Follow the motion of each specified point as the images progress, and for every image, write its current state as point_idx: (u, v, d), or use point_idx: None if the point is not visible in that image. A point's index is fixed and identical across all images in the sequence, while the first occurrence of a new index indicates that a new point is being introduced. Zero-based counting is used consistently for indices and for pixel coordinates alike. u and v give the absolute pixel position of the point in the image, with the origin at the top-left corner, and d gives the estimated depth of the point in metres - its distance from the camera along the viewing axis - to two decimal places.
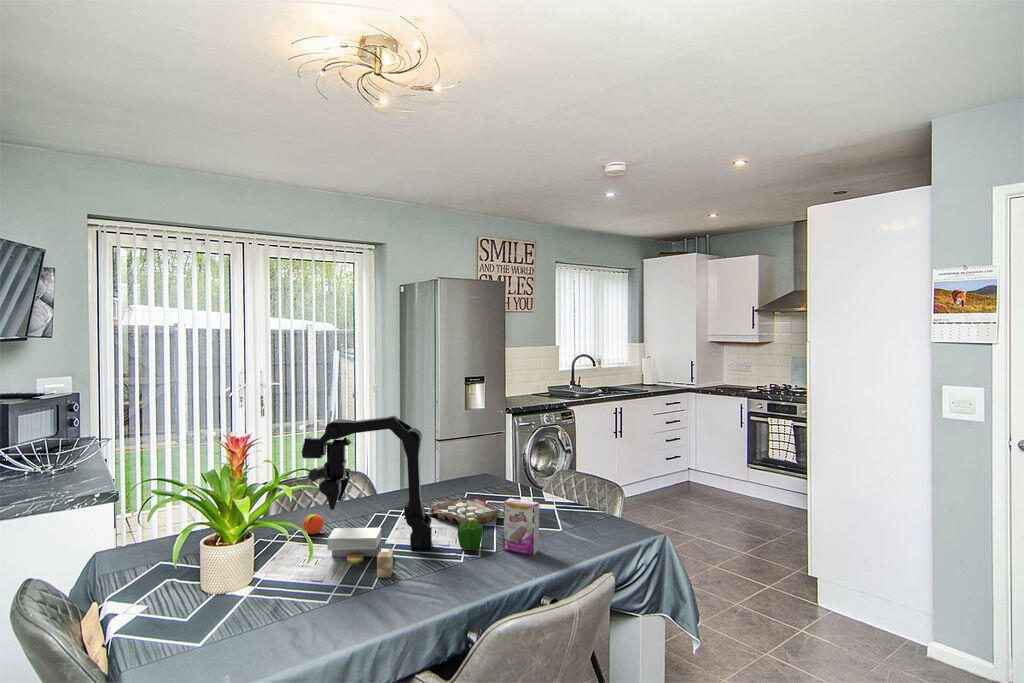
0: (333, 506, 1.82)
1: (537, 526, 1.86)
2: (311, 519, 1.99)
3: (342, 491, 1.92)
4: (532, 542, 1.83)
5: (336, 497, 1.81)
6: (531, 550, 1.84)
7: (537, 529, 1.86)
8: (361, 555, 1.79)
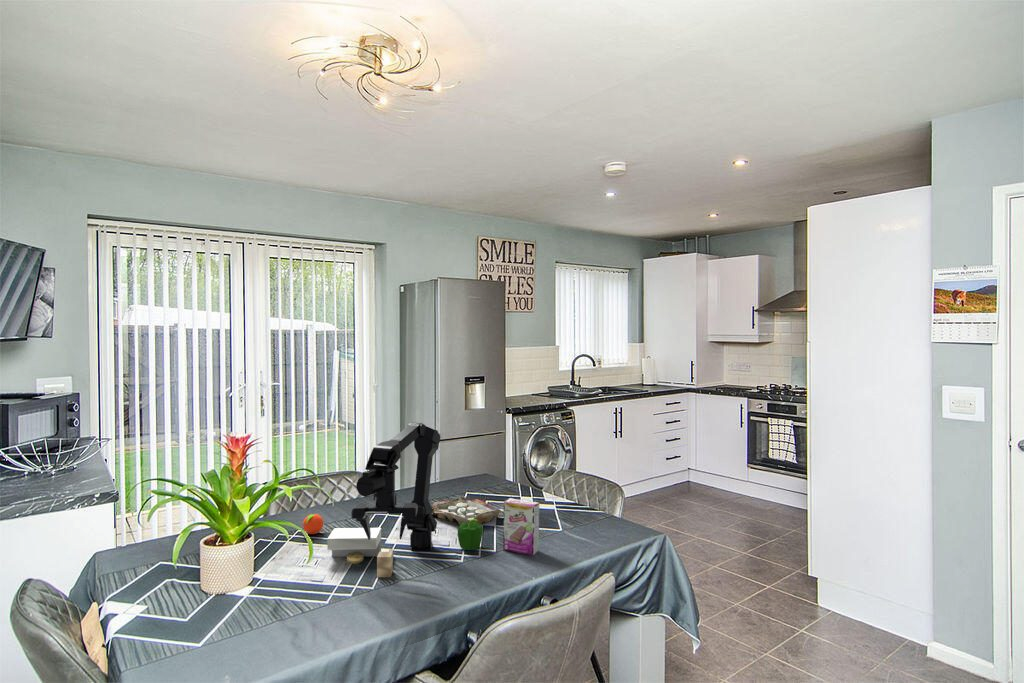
0: None
1: (537, 526, 1.86)
2: (311, 519, 1.99)
3: (400, 529, 1.68)
4: (532, 542, 1.83)
5: None
6: (531, 550, 1.84)
7: (537, 529, 1.86)
8: (361, 555, 1.79)
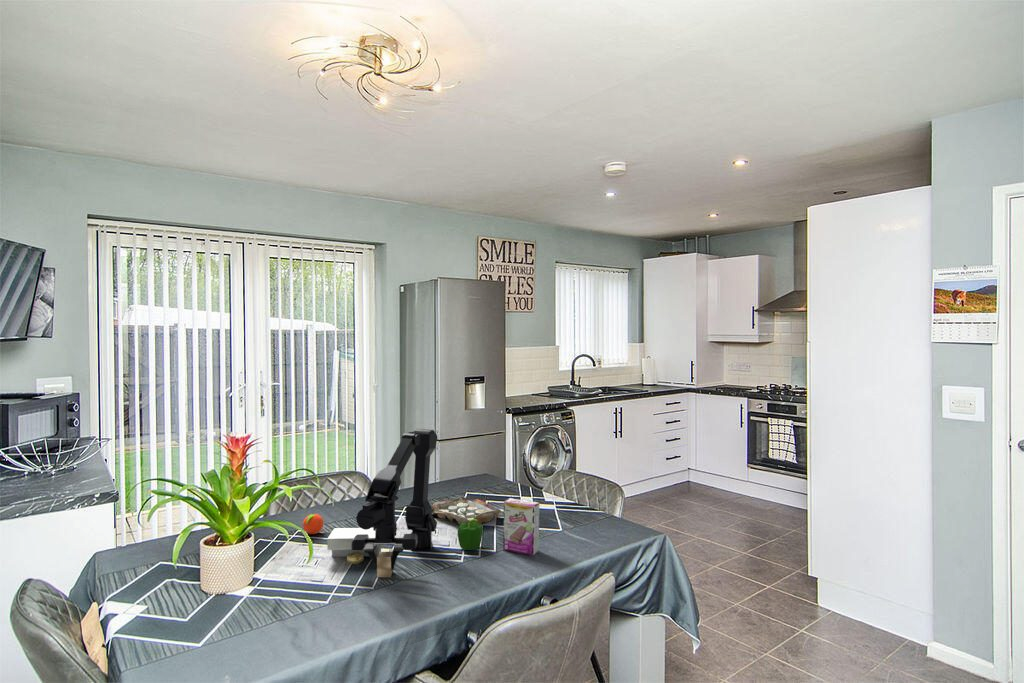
0: None
1: (537, 526, 1.86)
2: (311, 519, 1.99)
3: None
4: (532, 542, 1.83)
5: None
6: (531, 550, 1.84)
7: (537, 529, 1.86)
8: (361, 555, 1.79)
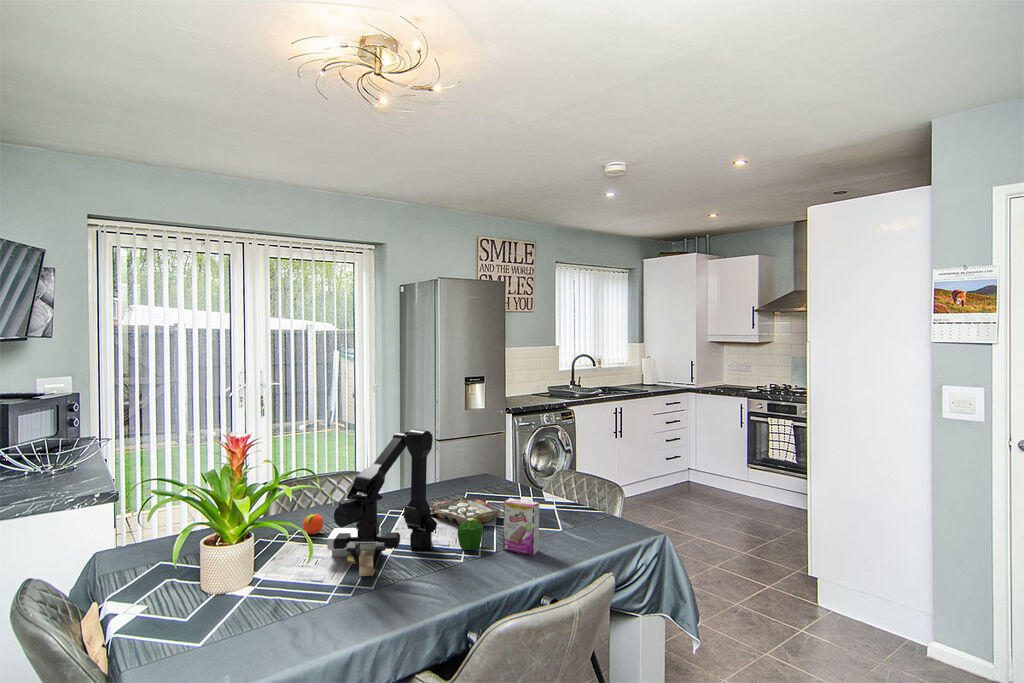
0: None
1: (537, 526, 1.86)
2: (311, 519, 1.99)
3: (374, 559, 1.68)
4: (532, 542, 1.83)
5: None
6: (531, 550, 1.84)
7: (537, 529, 1.86)
8: None
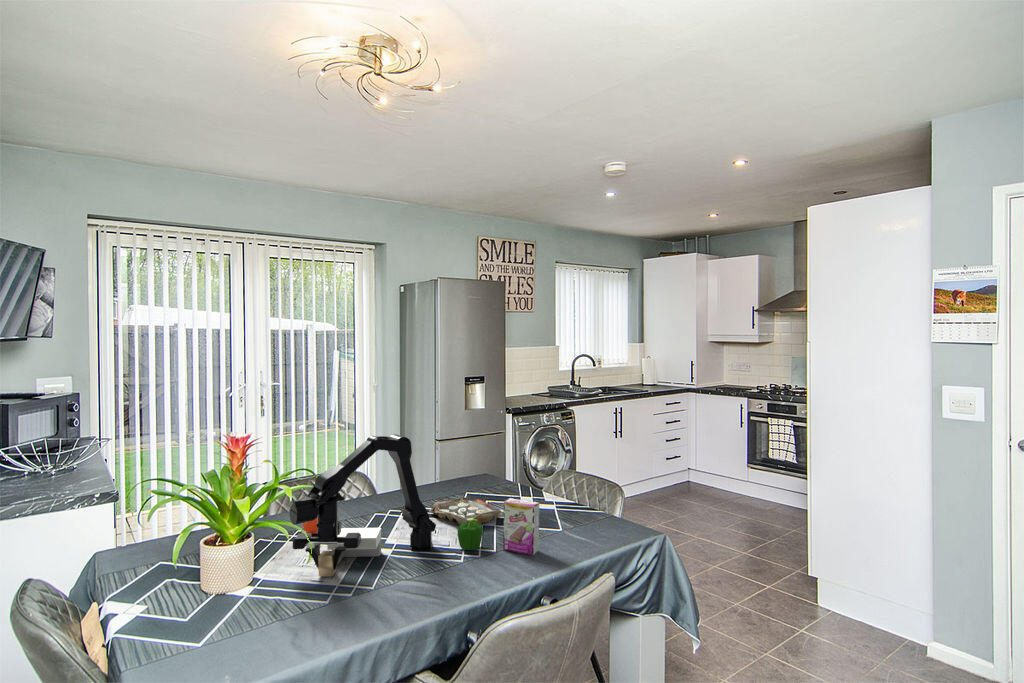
0: None
1: (537, 526, 1.86)
2: None
3: (334, 560, 1.67)
4: (532, 542, 1.83)
5: None
6: (531, 550, 1.84)
7: (537, 529, 1.86)
8: None
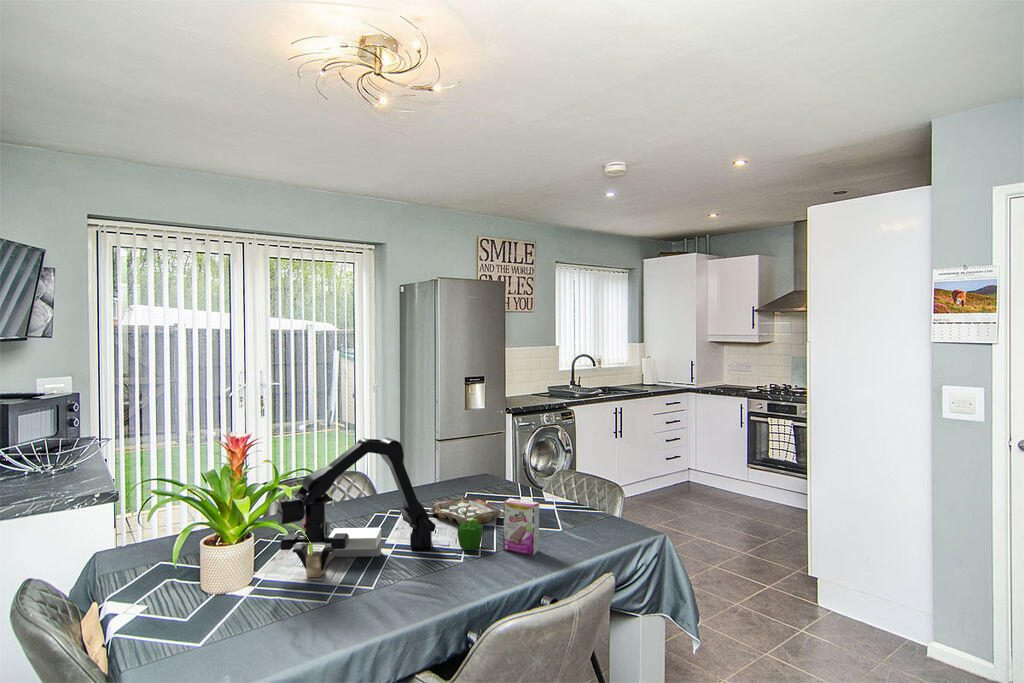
0: None
1: (537, 526, 1.86)
2: None
3: None
4: (532, 542, 1.83)
5: None
6: (531, 550, 1.84)
7: (537, 529, 1.86)
8: None
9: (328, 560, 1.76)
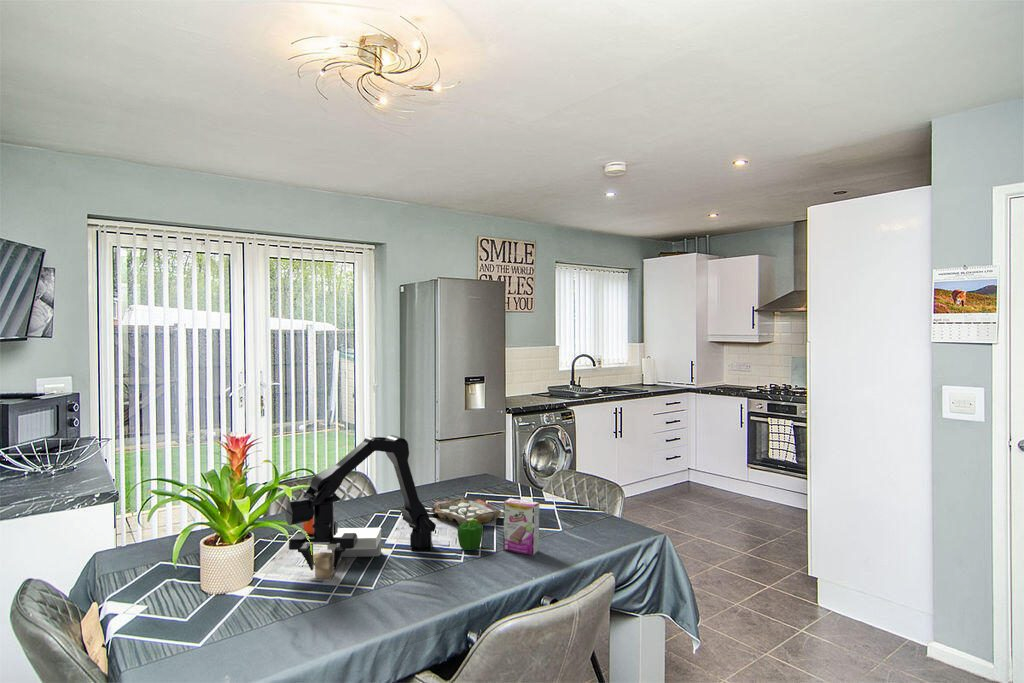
0: None
1: (537, 526, 1.86)
2: (311, 519, 1.99)
3: (334, 560, 1.67)
4: (532, 542, 1.83)
5: None
6: (531, 550, 1.84)
7: (537, 529, 1.86)
8: None
9: None
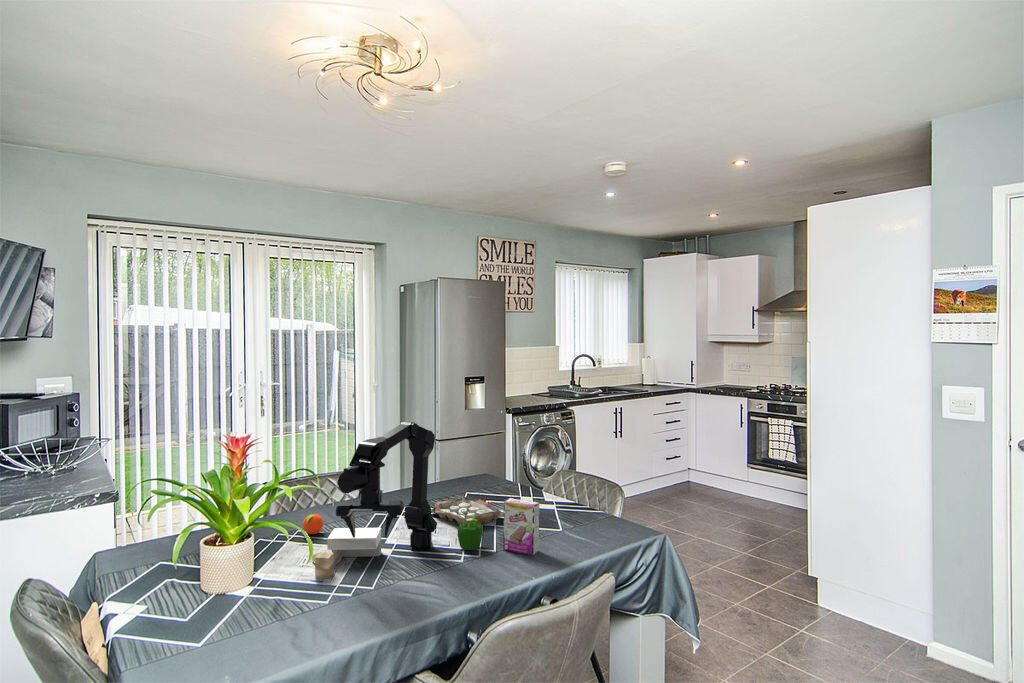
0: None
1: (537, 526, 1.86)
2: (311, 519, 1.99)
3: None
4: (532, 542, 1.83)
5: None
6: (531, 550, 1.84)
7: (537, 529, 1.86)
8: None
9: (336, 561, 1.76)
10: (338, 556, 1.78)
